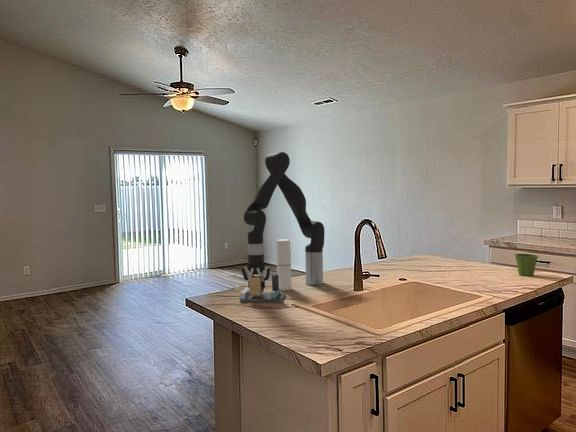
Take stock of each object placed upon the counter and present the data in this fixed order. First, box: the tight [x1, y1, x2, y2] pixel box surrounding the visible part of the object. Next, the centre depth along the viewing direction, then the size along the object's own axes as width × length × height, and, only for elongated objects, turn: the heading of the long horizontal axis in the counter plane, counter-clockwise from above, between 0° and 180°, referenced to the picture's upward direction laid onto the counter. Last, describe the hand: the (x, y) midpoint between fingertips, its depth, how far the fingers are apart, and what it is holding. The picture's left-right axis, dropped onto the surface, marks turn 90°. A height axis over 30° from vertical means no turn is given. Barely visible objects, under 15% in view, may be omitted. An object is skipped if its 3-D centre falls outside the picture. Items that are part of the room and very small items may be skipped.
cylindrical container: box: [275, 238, 292, 291], centre depth 219 cm, size 7×7×25 cm
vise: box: [239, 286, 286, 304], centre depth 202 cm, size 12×19×4 cm, turn 80°
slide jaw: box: [270, 273, 281, 298], centre depth 200 cm, size 11×3×10 cm, turn 170°
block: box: [249, 275, 265, 295], centre depth 202 cm, size 8×5×8 cm, turn 170°
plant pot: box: [514, 253, 540, 277], centre depth 240 cm, size 12×12×11 cm
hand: (256, 288), depth 202 cm, fingers closed on block, 5 cm apart
